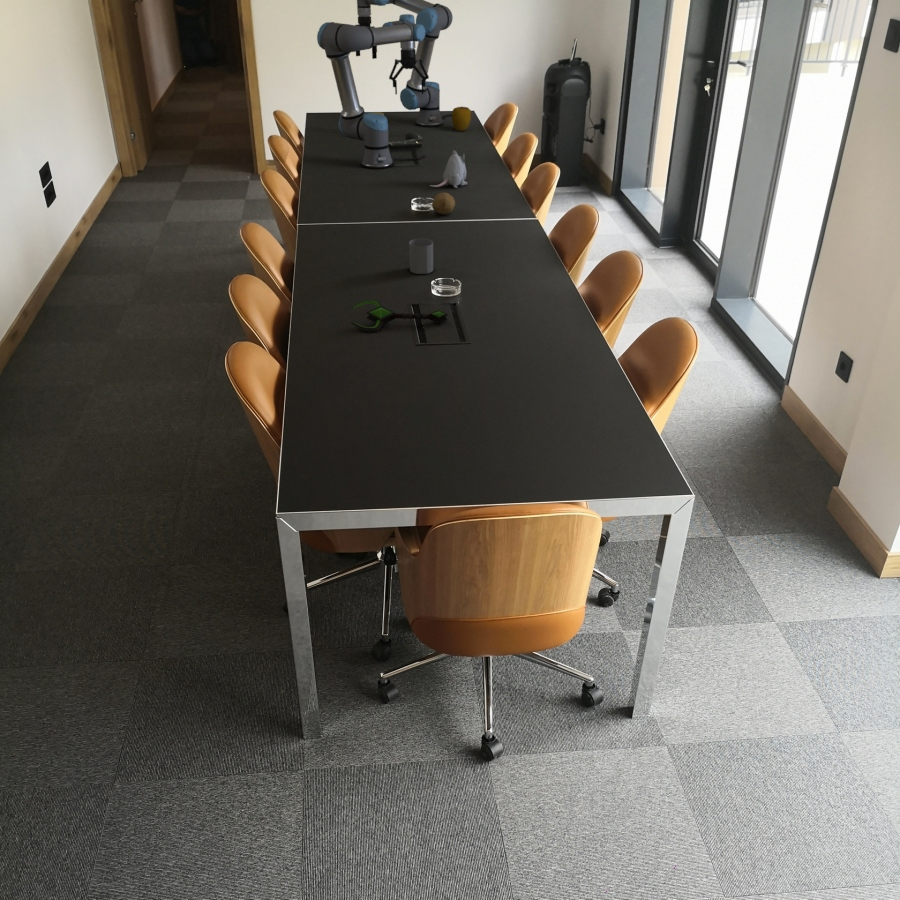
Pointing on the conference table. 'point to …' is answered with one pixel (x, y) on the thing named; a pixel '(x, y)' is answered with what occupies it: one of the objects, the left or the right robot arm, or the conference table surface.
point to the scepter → (393, 315)
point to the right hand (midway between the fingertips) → (366, 57)
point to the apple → (461, 118)
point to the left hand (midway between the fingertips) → (409, 93)
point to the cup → (421, 256)
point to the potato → (443, 203)
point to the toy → (454, 171)
